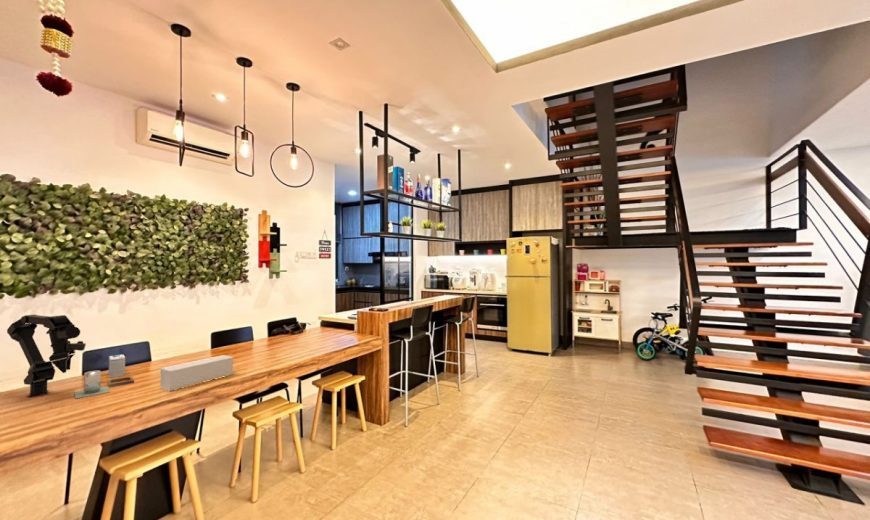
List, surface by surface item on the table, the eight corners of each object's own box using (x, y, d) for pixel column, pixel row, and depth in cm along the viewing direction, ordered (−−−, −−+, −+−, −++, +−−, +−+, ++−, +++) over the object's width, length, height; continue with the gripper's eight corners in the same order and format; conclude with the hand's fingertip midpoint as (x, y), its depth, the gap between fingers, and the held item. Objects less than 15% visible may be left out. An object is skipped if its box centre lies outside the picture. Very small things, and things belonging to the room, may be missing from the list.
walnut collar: (107, 383, 189) (107, 380, 189) (131, 378, 197) (131, 376, 197) (109, 387, 183) (109, 384, 183) (133, 382, 190) (134, 380, 190)
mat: (74, 393, 175) (75, 392, 175) (107, 386, 184) (107, 386, 184) (75, 399, 167) (75, 398, 167) (109, 392, 175) (109, 391, 175)
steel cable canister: (87, 390, 177) (88, 371, 177) (102, 389, 179) (103, 369, 179) (81, 394, 171) (81, 374, 172) (96, 393, 174) (97, 373, 174)
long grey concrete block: (223, 372, 209) (223, 354, 210) (233, 375, 204) (233, 357, 204) (160, 388, 182) (160, 368, 182) (169, 392, 176) (169, 371, 177)
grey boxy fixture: (108, 374, 206) (108, 356, 206) (123, 371, 211) (123, 354, 211) (109, 378, 199) (110, 359, 199) (125, 375, 204) (125, 357, 204)
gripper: (78, 337, 169) (85, 368, 170) (85, 334, 184) (91, 362, 184) (45, 344, 162) (53, 376, 163) (55, 341, 177) (61, 370, 177)
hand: (66, 371), depth 172 cm, fingers open, 9 cm apart
